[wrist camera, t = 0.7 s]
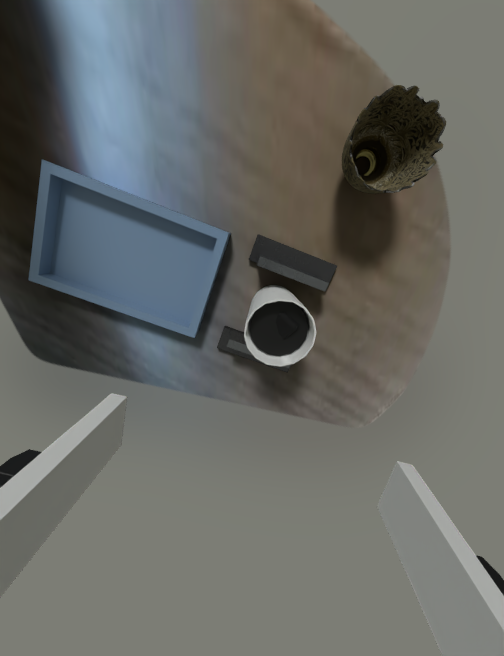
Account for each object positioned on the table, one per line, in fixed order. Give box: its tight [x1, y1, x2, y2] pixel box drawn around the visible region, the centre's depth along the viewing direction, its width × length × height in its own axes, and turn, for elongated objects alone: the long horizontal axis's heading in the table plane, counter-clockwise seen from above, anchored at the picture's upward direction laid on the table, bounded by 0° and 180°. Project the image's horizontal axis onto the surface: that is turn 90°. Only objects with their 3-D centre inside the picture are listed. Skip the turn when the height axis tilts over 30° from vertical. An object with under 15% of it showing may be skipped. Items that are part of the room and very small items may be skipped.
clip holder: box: [217, 235, 337, 373], centre depth 33 cm, size 15×10×4 cm, turn 159°
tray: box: [29, 160, 231, 338], centre depth 32 cm, size 13×20×2 cm, turn 69°
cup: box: [342, 85, 446, 194], centre depth 26 cm, size 8×7×8 cm
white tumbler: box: [244, 285, 316, 367], centre depth 30 cm, size 7×7×10 cm
